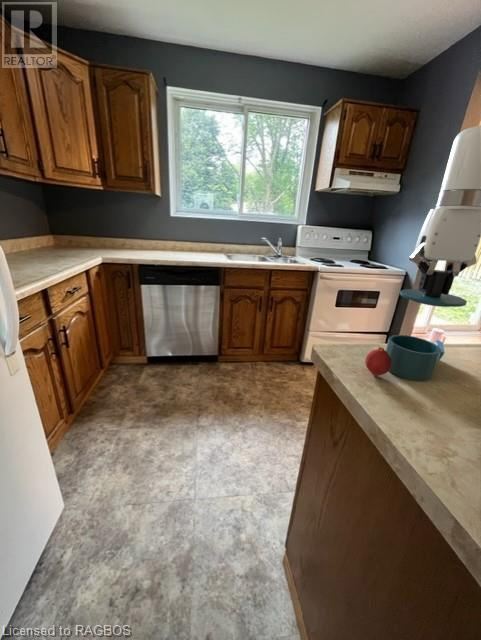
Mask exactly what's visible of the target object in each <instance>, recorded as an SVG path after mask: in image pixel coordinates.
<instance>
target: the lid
mask: <svg viewBox="0 0 481 640" xmlns="http://www.w3.org/2000/svg"><path fill="white" fill-rule="evenodd" d="M432 275H434V276H435V278H434V281H433V284H432V288H431V291H430V293H429V294H426V293H423V292H421V291H419V288H418V289H417V288H406V289H405V288H404V289H402V290H400V291H399V296H401V297H403V298H405V299H407V300H410V301H412V302H415V303H417V304H421V305H427V306H433V307H441V308H461V307H465V306H466V305H467V303H468V301H467V300H466V299H465V298H462V297H460V296H457V295H454V294H450V293H449V294H448V295H444V294H442V291H443V288H444V284H445V281H446V278H447V275H448V272H446V271H445V270H440V269H434V272H433V274H432Z"/></svg>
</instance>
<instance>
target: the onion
mask: <svg viewBox="0 0 481 640" xmlns="http://www.w3.org/2000/svg"><path fill="white" fill-rule="evenodd" d="M364 361H365V362H364V364H365V367H366V369H367V370H368V372H370V374H371V375H372V376H374V377H378V376H382V375H385V374H387V373H388V372H389V370H390V368H391V364H392V361H391V357H390V356H389V354H388V353H387V352H386V349H385V348H384V347H383V346H379V347H378V348H376V349H373V350H371V351H370V352H369V353H367V355H366V358H365V360H364Z"/></svg>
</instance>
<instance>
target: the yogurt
mask: <svg viewBox="0 0 481 640" xmlns="http://www.w3.org/2000/svg"><path fill="white" fill-rule="evenodd" d="M434 344H435V345H437V346H438V347H439V348H440V349H441V353H440V356H439V359H438V362H437V364H438V363H439V362H440V361H441V359H442V357H443V356H445V346H444V342H443V341H441V340H439V339H436V340H435V342H434Z"/></svg>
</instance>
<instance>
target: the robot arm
mask: <svg viewBox="0 0 481 640" xmlns="http://www.w3.org/2000/svg"><path fill="white" fill-rule="evenodd" d="M480 240H481V125H475V126H471V127H469V128H466V129H463V130H462V131H460V132H459V133H457V135H456V136H455V138H454V140H453V143H452V146H451V150H450V153H449V157H448V160H447V164H446V168H445V171H444V175H443V179H442V183H441V185H440V190H439V193H438V198H437V201H436V204H435V208H431V209H430V210H429V212H428V213H427V216H426V218H425V220H424V222H423V224H422V227H421V229H420V232H419V234H418V238H417V241H416V244H415V247H414V251H413V253H412V254H411V255H410V256H409V261H410V262H411V263H413V264H414V265H416V267H417V268H418V270H419V272H420V273H421V276H420V279H419V283H418V289H419V291H421V292H423V293H426V294H429V293H430V291H431V288H432V284H433V281H434V278H435V276H434V275H432V274H433V272H434V270H436V267H437V265H438V262H439V261H442V262H443V261H444V262H445V267H444V271H446V272H448V275H447V278H446V281H445V284H444V288H443V291H442V294H444V295H448V294H450V290H452V286H453V282H454V279H455V277H458V276H459V275H460V273H461V272H462V271H464V270H466V268H469V267H472V266H474V265H477V256H476V253H477V251H478V247H479V244H480Z"/></svg>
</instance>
